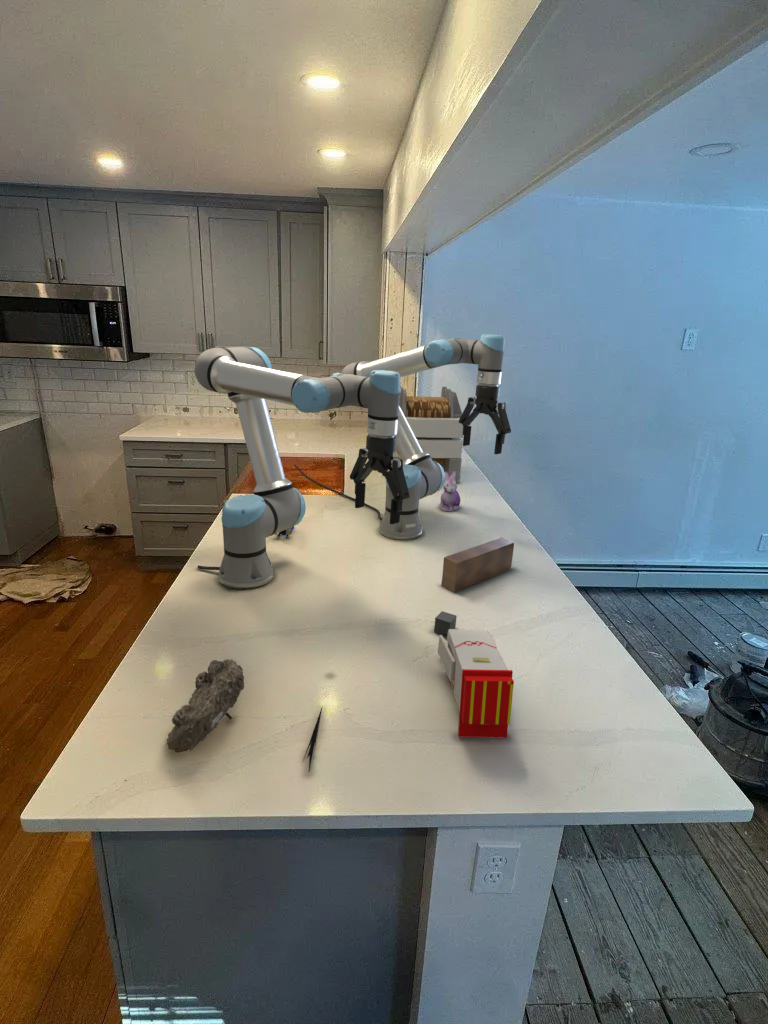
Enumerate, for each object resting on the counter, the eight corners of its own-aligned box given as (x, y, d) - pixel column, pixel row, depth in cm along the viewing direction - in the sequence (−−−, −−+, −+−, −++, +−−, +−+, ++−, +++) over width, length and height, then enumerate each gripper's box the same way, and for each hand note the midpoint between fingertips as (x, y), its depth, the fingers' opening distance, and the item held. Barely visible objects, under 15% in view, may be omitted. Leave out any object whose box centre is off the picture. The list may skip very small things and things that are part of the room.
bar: (454, 592, 160) (456, 563, 157) (441, 585, 164) (443, 557, 161) (511, 569, 176) (514, 542, 173) (498, 563, 180) (501, 537, 177)
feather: (331, 679, 122) (336, 673, 122) (307, 777, 96) (313, 769, 95) (324, 675, 122) (329, 669, 121) (298, 772, 95) (304, 764, 95)
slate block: (434, 632, 140) (435, 617, 139) (440, 624, 143) (441, 610, 142) (448, 636, 138) (450, 622, 137) (455, 629, 142) (456, 615, 140)
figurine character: (292, 545, 190) (297, 524, 203) (291, 525, 186) (296, 505, 200) (271, 544, 189) (278, 523, 203) (270, 524, 186) (277, 504, 199)
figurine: (446, 513, 222) (450, 476, 217) (432, 505, 230) (435, 469, 225) (466, 510, 226) (470, 474, 221) (452, 502, 234) (455, 467, 229)
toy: (488, 613, 130) (523, 677, 101) (484, 667, 133) (517, 744, 104) (435, 612, 130) (455, 676, 101) (432, 666, 133) (451, 743, 103)
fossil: (192, 660, 117) (244, 628, 112) (224, 691, 120) (276, 661, 115) (142, 746, 98) (202, 712, 93) (182, 779, 101) (242, 748, 96)
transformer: (382, 463, 289) (386, 382, 275) (445, 464, 293) (451, 384, 279) (390, 482, 257) (394, 392, 243) (460, 483, 261) (468, 394, 247)
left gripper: (338, 426, 146) (335, 503, 154) (406, 448, 130) (399, 533, 137) (360, 423, 151) (356, 498, 159) (428, 444, 135) (420, 526, 142)
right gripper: (451, 380, 188) (446, 443, 196) (512, 390, 171) (504, 459, 178) (466, 379, 193) (461, 440, 200) (527, 389, 175) (518, 455, 183)
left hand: (376, 514), depth 148 cm, fingers open, 13 cm apart
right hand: (481, 449), depth 189 cm, fingers open, 13 cm apart
